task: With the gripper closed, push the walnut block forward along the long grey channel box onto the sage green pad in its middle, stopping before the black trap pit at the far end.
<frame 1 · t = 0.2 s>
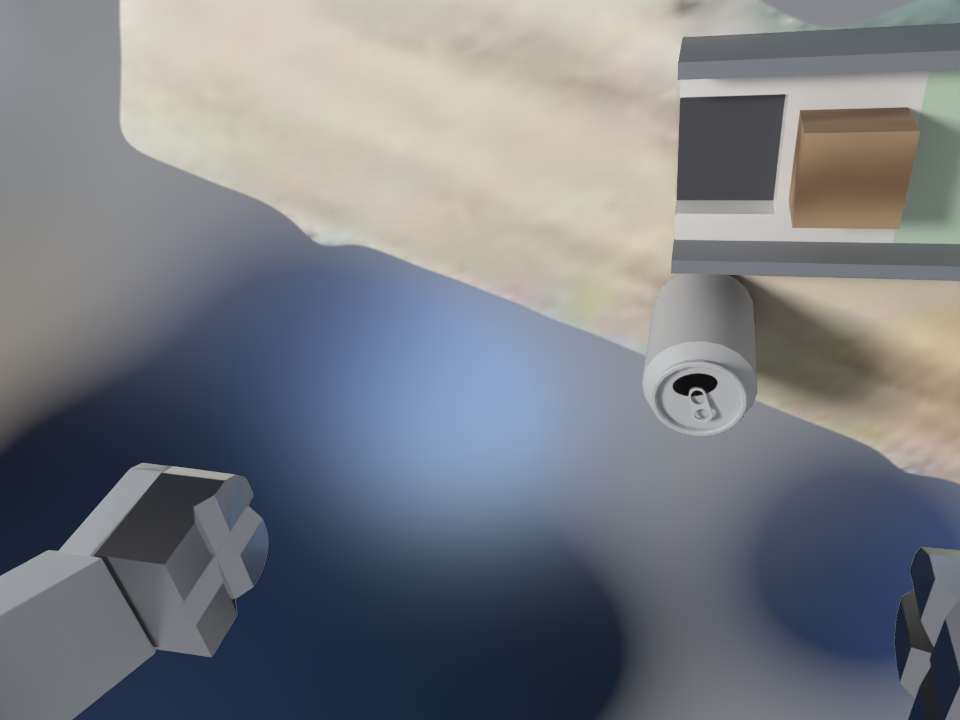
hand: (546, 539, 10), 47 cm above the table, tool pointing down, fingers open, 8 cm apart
walnut block: (845, 156, 49), point 2 cm above the table, touching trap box
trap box: (899, 140, 50), on the table
can: (702, 304, 61), on the table
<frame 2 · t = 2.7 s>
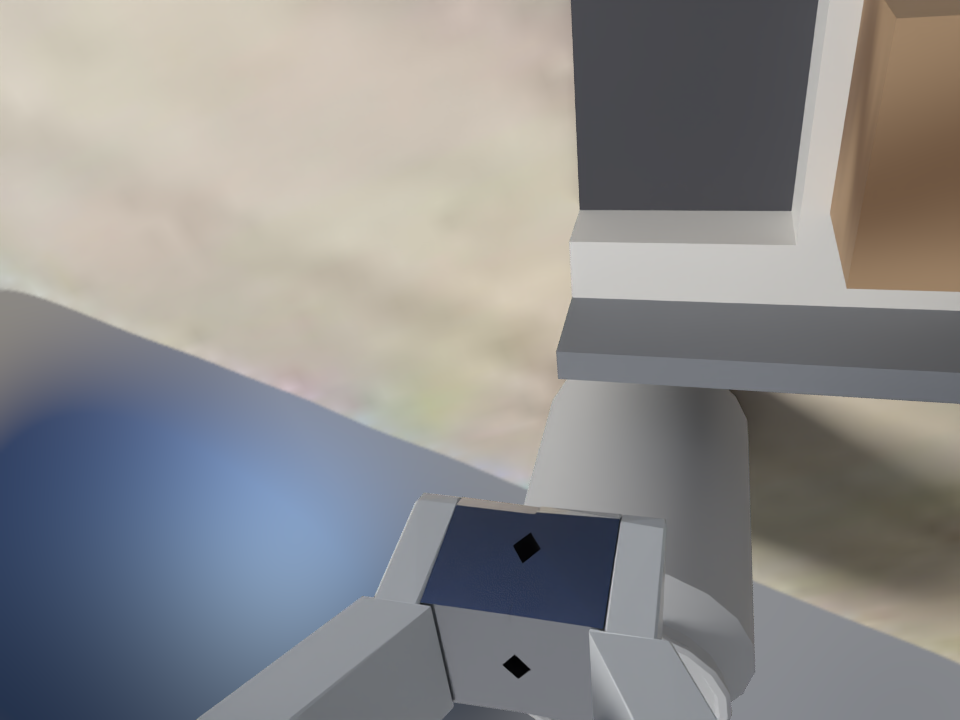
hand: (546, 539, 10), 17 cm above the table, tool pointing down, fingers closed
can: (647, 414, 31), on the table
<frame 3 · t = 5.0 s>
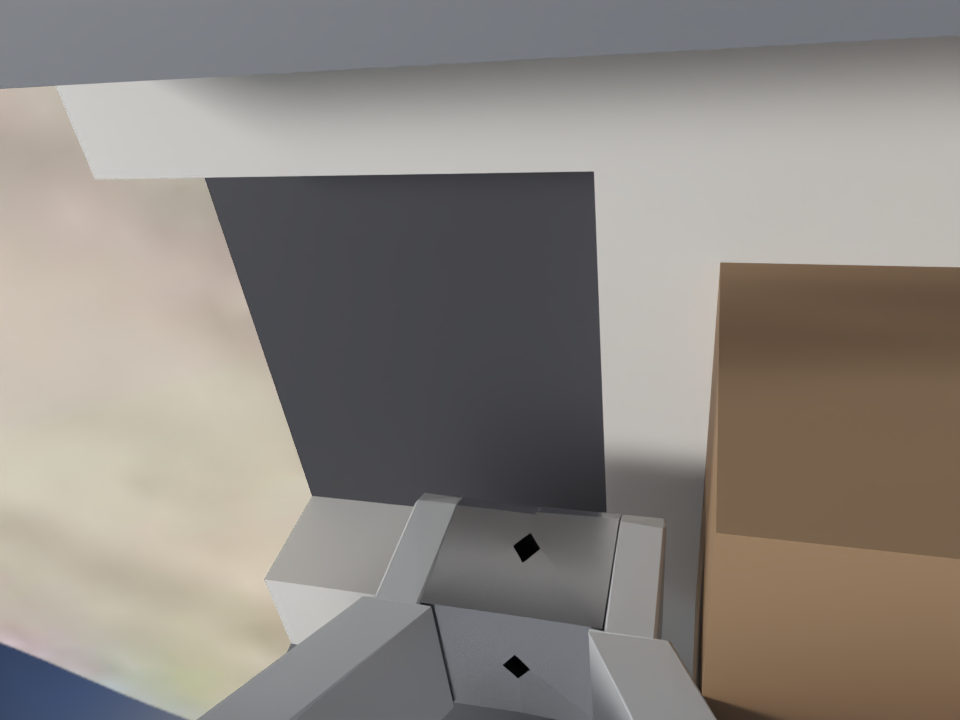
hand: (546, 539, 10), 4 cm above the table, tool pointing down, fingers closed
walnut block: (958, 482, 10), point 3 cm above the table, touching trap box
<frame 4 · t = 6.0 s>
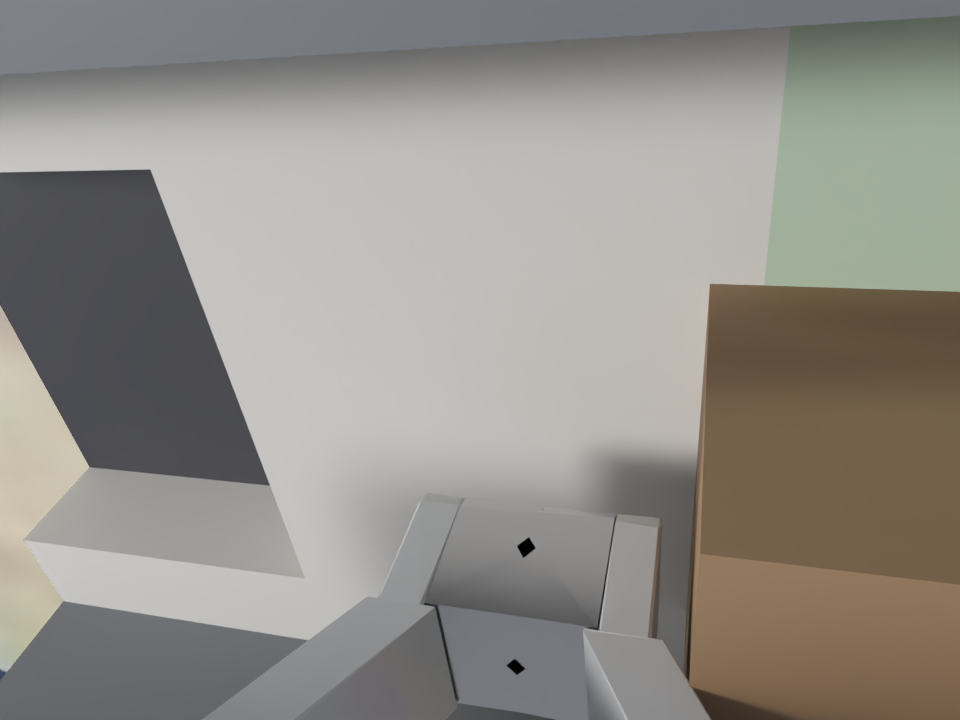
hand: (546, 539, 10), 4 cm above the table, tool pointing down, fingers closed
walnut block: (941, 496, 10), point 3 cm above the table, touching gripper
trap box: (727, 341, 12), on the table
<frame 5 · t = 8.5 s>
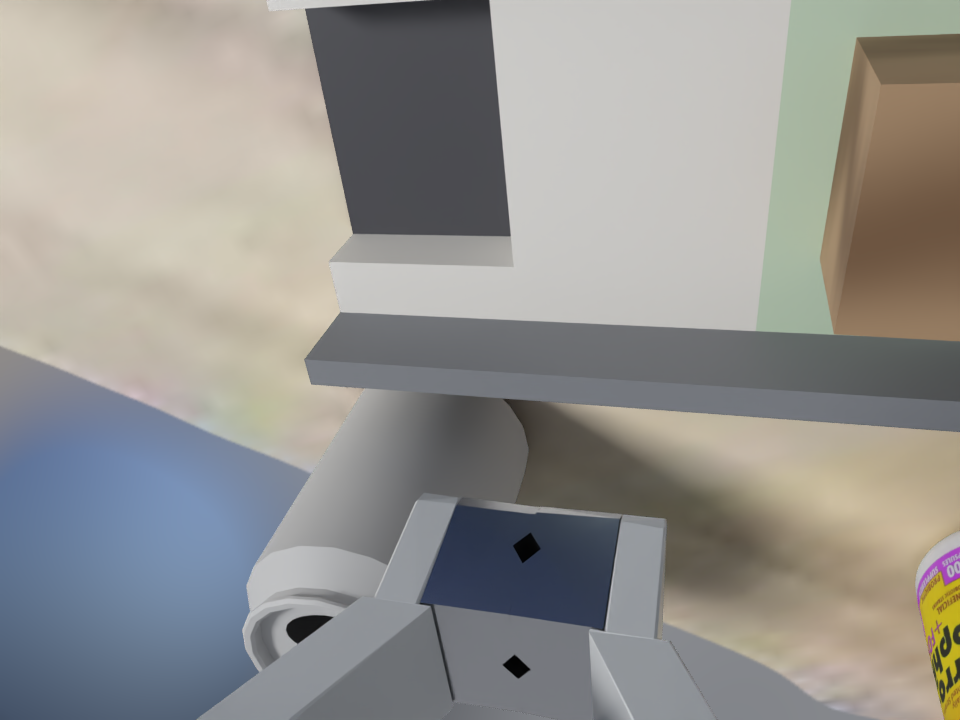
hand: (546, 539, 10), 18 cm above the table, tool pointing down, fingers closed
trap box: (763, 111, 23), on the table
can: (447, 422, 33), on the table
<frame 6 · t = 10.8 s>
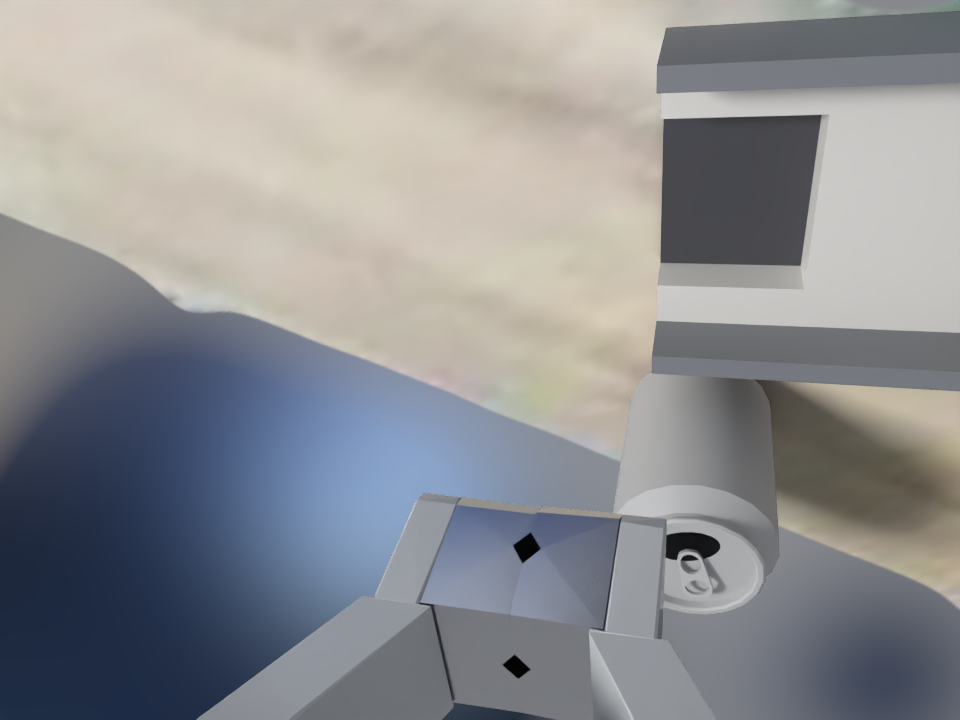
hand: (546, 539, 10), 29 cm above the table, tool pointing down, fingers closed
can: (699, 401, 44), on the table
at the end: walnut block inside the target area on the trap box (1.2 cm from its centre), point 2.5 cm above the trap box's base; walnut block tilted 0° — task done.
